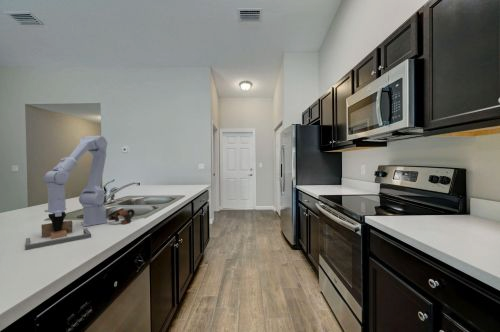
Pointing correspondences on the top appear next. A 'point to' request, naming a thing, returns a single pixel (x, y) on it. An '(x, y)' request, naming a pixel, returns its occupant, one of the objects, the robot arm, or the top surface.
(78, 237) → the bay
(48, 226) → the brown wooden board
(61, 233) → the tile
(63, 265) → the top surface
